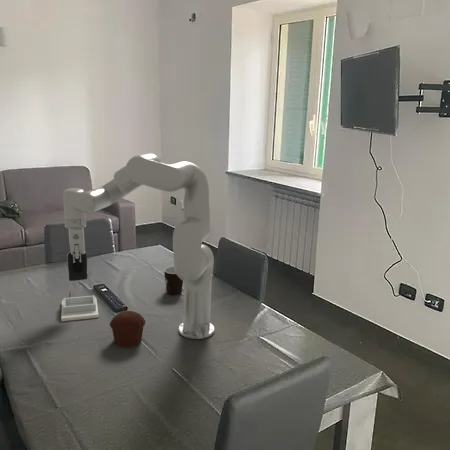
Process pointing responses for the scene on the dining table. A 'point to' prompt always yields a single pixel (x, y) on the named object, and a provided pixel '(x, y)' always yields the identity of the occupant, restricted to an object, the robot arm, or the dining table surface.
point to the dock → (79, 308)
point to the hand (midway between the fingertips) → (77, 269)
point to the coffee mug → (172, 282)
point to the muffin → (127, 328)
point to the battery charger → (72, 275)
